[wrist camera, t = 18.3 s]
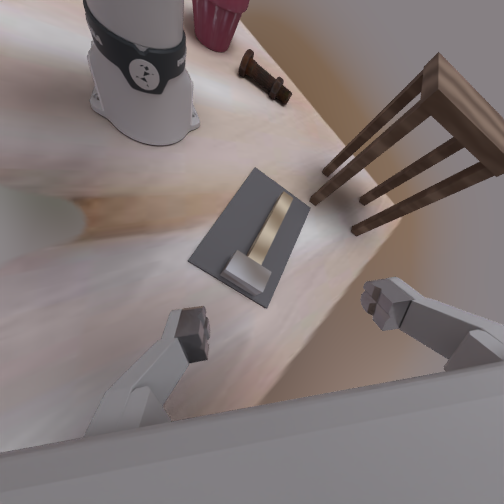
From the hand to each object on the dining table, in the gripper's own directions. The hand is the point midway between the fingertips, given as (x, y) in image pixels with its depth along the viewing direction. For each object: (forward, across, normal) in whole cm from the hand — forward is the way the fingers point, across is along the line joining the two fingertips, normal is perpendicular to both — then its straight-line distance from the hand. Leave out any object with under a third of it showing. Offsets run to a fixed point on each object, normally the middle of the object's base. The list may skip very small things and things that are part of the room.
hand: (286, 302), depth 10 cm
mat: (+29, -2, +8) cm, 30 cm away
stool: (+41, -26, +8) cm, 49 cm away
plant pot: (+68, +2, -32) cm, 75 cm away
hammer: (+26, -4, +7) cm, 27 cm away
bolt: (+62, -10, -20) cm, 66 cm away
